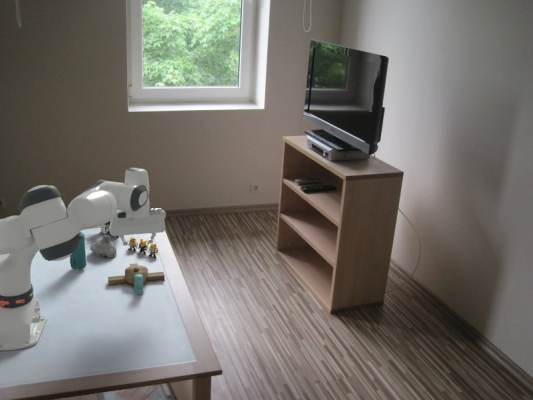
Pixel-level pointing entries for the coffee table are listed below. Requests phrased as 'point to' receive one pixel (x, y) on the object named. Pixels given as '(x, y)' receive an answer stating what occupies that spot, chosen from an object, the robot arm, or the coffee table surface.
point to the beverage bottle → (79, 255)
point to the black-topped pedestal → (105, 227)
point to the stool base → (133, 271)
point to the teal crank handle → (138, 284)
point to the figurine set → (143, 247)
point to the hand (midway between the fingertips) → (138, 243)
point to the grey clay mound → (104, 247)
